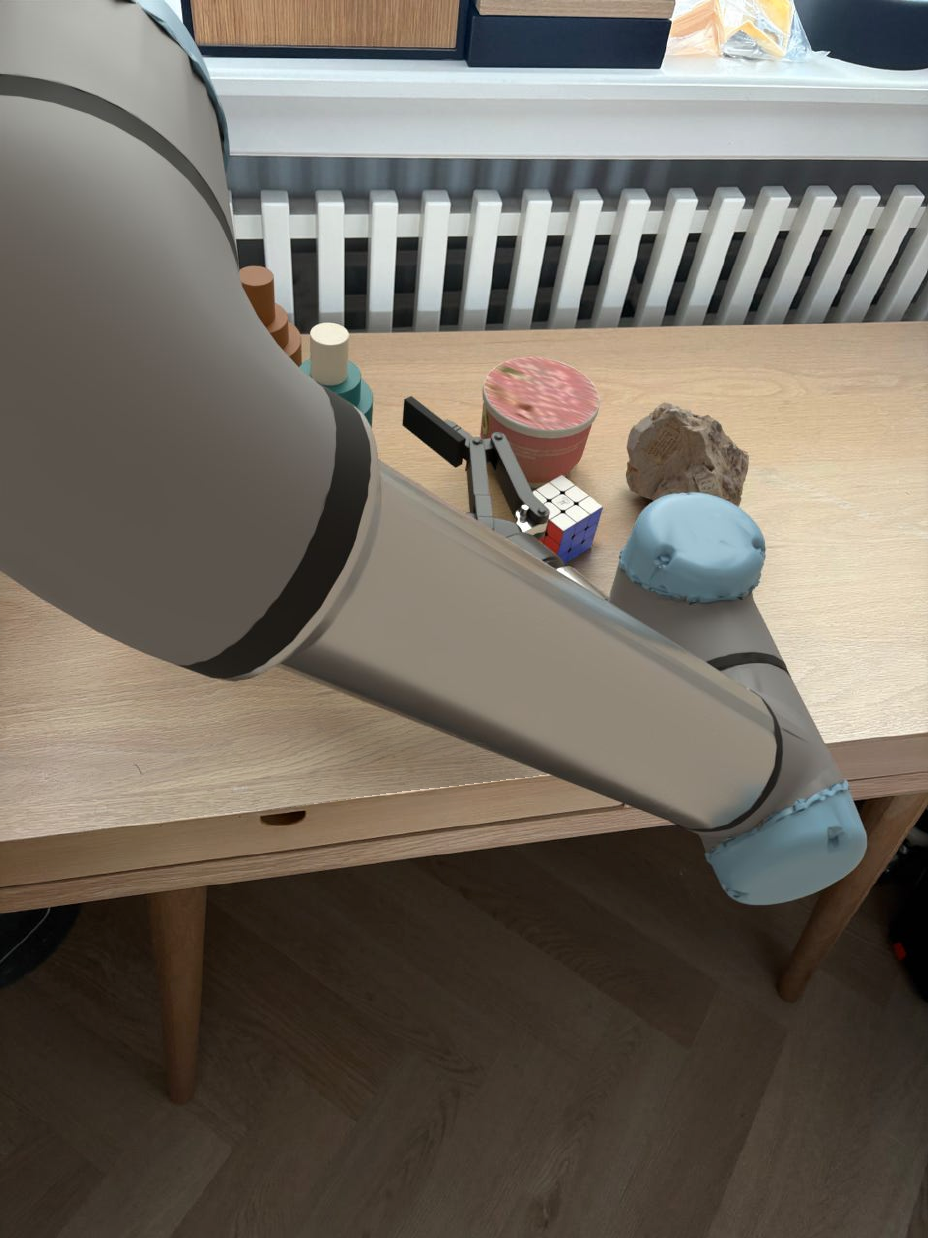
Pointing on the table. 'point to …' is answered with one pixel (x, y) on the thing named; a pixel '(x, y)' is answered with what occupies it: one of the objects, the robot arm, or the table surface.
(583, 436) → the container
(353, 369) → the bottle
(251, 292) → the bottle mid
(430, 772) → the table surface
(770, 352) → the table surface
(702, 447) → the rock
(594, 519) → the rubik's cube
